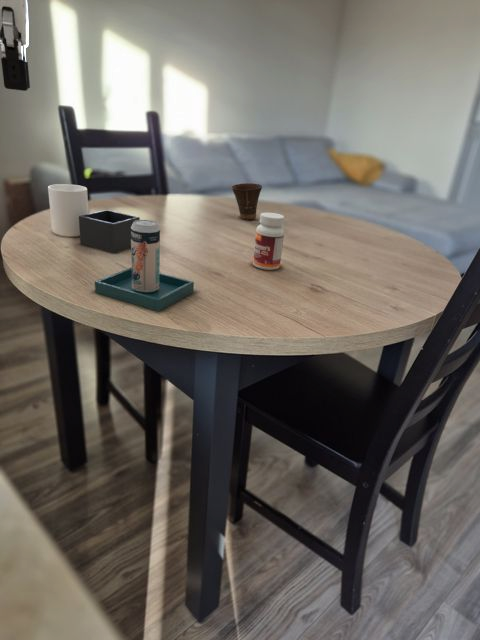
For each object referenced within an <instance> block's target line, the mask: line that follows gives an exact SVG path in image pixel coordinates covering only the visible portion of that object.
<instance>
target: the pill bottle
mask: <svg viewBox="0 0 480 640" xmlns="http://www.w3.org/2000/svg"><path fill="white" fill-rule="evenodd" d="M259 223H260V224H258V226H256V230H255V238H254V248H253V256H252V265H253V266H254V267H256V268H257V269H261V270H266V271H273V270H277V269H279V268H280V266H281V260H282V255H283V246H284V239H285V229H284V228H283V226H284V225H285V216H284V215H283V214H279V213H276V212H261V213H260V215H259Z"/></svg>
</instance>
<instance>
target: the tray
mask: <svg viewBox="0 0 480 640" xmlns="http://www.w3.org/2000/svg"><path fill="white" fill-rule="evenodd" d="M194 287H195V281H192V280H189V279H184V278H180V277H177V276H174V275H169V274H166V273H163V272H159V289H158V290H156V291H154V292H152V293H141V292H138V291H136V290H134V289H133V288H132V267H128V268H126V269H123V270H121V271H118V272H116V273H113V274H110V275H108V276H105V277H103V278H100V279H98V280H95V281H94V293H96V294H100V295H102V296H106V297H110V298H112V299H116V300H120V301H123V302H126V303H129V304H133V305H136V306H140V307H143V308H146V309H150V310H153V311H156V312H160V311H162V310H164V309H165V308H168V307H169V306H171V305H172V304H175V303H176V302H178V301H180V300H181V299H183V298H185V297H187V296H189V295H190V294H193V293H194Z"/></svg>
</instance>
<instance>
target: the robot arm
mask: <svg viewBox="0 0 480 640" xmlns="http://www.w3.org/2000/svg"><path fill="white" fill-rule="evenodd" d="M29 27H30V26H29V8H28V0H0V45H1V46H0V47H1V48H0V49H1V58H0V61H1V70H2V78H3V86H4V88H5V89H7V90H15V91H24V92H26V91H28V90H29V89H30V88H31V82H30V73H29V72H30V71H29V62H28V61H27V56H26V54H27V53H26V48H28V47H29V33H30V32H29V31H30V30H29V29H30V28H29Z"/></svg>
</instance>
